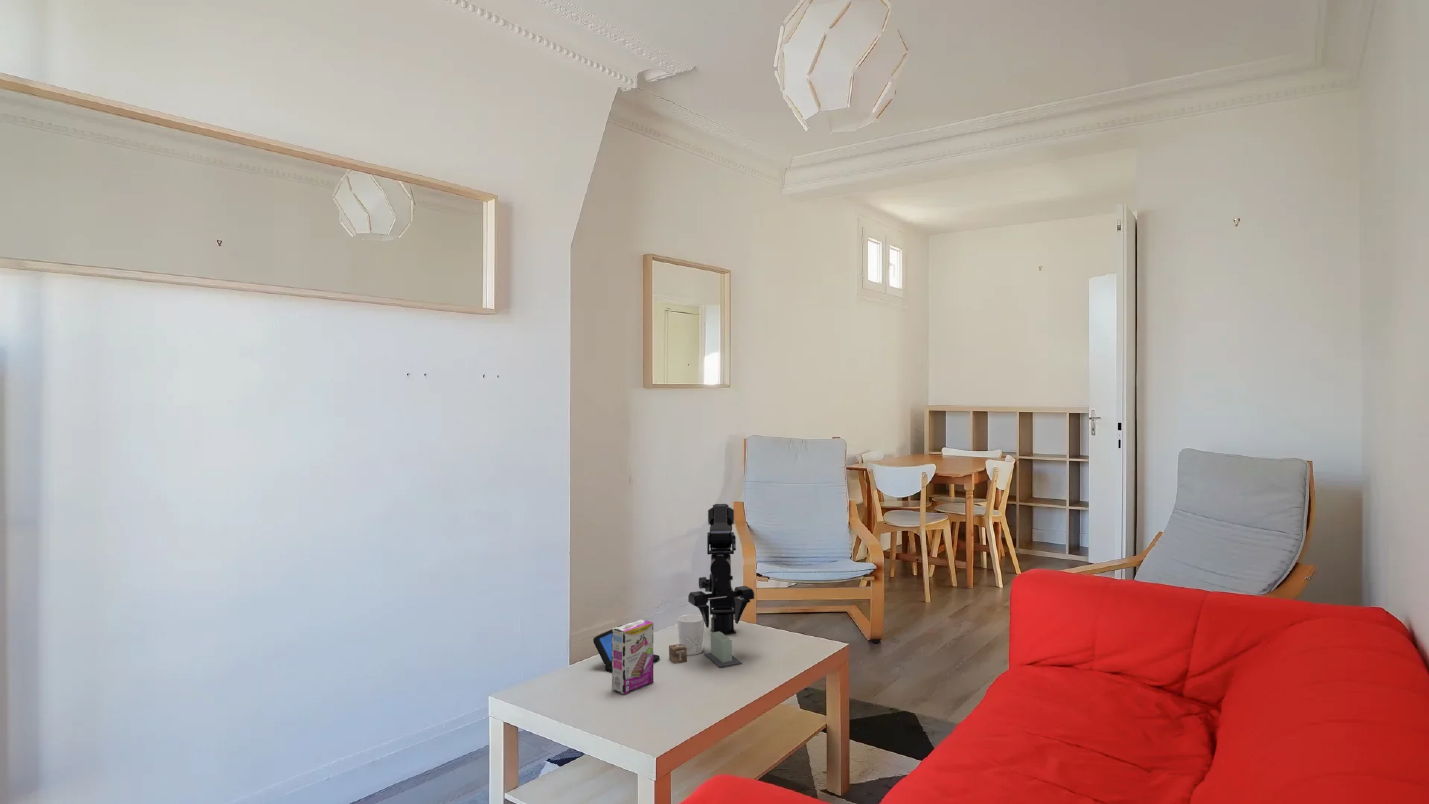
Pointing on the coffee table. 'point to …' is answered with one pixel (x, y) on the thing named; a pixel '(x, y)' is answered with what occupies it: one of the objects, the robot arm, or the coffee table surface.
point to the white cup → (691, 633)
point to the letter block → (677, 653)
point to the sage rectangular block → (721, 646)
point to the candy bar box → (632, 656)
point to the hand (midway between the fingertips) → (722, 625)
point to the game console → (609, 649)
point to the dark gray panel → (722, 664)
